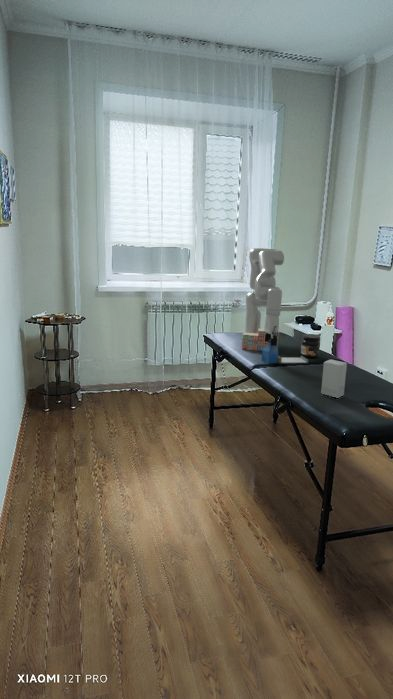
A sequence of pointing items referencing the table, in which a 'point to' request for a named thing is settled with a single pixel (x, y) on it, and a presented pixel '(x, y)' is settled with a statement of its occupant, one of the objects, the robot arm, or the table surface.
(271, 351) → the perfume bottle
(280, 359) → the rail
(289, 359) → the mat
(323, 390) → the skincare box
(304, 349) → the supplement container
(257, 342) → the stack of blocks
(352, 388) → the table surface
